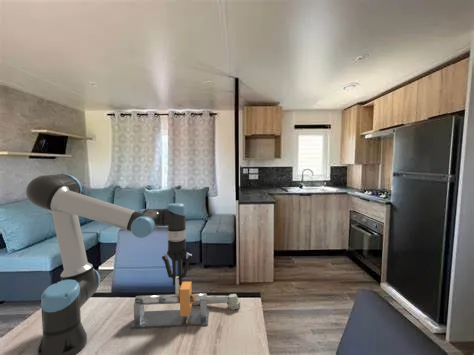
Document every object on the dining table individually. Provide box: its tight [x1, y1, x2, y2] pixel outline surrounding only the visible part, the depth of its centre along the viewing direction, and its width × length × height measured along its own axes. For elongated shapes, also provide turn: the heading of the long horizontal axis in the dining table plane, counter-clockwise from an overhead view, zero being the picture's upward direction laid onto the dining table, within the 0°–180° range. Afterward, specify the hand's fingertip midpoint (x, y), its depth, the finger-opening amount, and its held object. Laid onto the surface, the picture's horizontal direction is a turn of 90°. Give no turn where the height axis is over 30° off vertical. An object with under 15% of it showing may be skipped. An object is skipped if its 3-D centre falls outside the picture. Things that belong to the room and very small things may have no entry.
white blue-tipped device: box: [192, 293, 241, 311], centre depth 122 cm, size 5×7×25 cm
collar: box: [179, 281, 193, 316], centre depth 112 cm, size 4×8×11 cm, turn 3°
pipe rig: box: [129, 292, 210, 330], centre depth 111 cm, size 32×11×11 cm, turn 93°
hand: (177, 292), depth 111 cm, fingers closed
